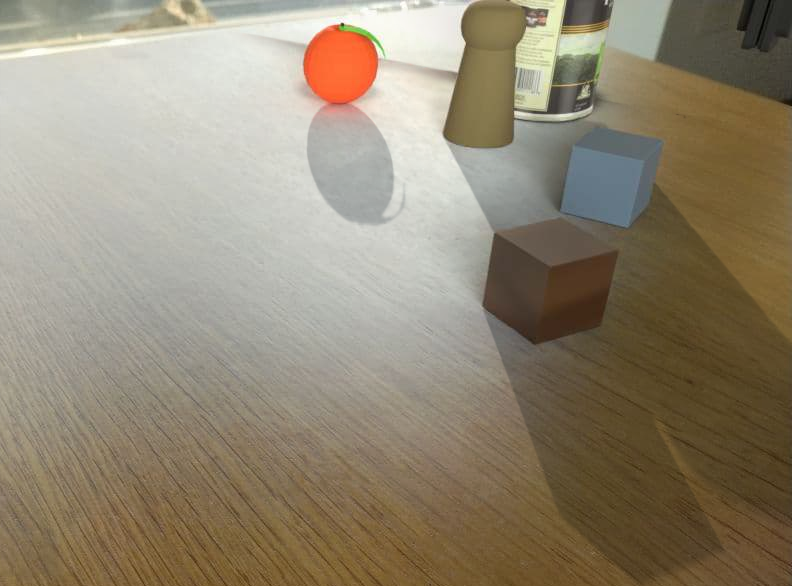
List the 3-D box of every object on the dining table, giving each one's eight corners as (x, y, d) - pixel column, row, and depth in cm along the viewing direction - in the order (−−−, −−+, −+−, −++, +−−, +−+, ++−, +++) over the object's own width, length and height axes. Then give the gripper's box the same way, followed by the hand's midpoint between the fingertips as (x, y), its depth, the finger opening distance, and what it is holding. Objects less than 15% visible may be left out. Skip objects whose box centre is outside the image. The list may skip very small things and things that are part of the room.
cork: (457, 119, 88) (474, -11, 82) (522, 131, 86) (545, -2, 79) (431, 139, 84) (447, 4, 78) (499, 153, 82) (521, 14, 75)
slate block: (648, 205, 73) (664, 139, 70) (627, 228, 70) (644, 160, 67) (582, 189, 75) (595, 126, 72) (559, 212, 72) (572, 145, 69)
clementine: (397, 99, 93) (404, 21, 89) (366, 120, 88) (372, 38, 84) (322, 86, 96) (326, 9, 92) (288, 105, 91) (290, 26, 87)
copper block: (601, 326, 58) (619, 249, 55) (534, 345, 57) (550, 267, 54) (545, 289, 62) (560, 216, 59) (481, 306, 60) (493, 231, 57)
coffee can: (586, 90, 95) (617, -69, 87) (599, 126, 87) (636, -46, 79) (478, 84, 97) (499, -73, 89) (481, 119, 88) (505, -51, 80)
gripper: (1043, -314, 50) (900, 54, 61) (736, -315, 57) (655, 16, 67) (1040, -321, 45) (884, 83, 55) (704, -321, 52) (621, 38, 62)
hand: (759, 45), depth 61 cm, fingers closed
